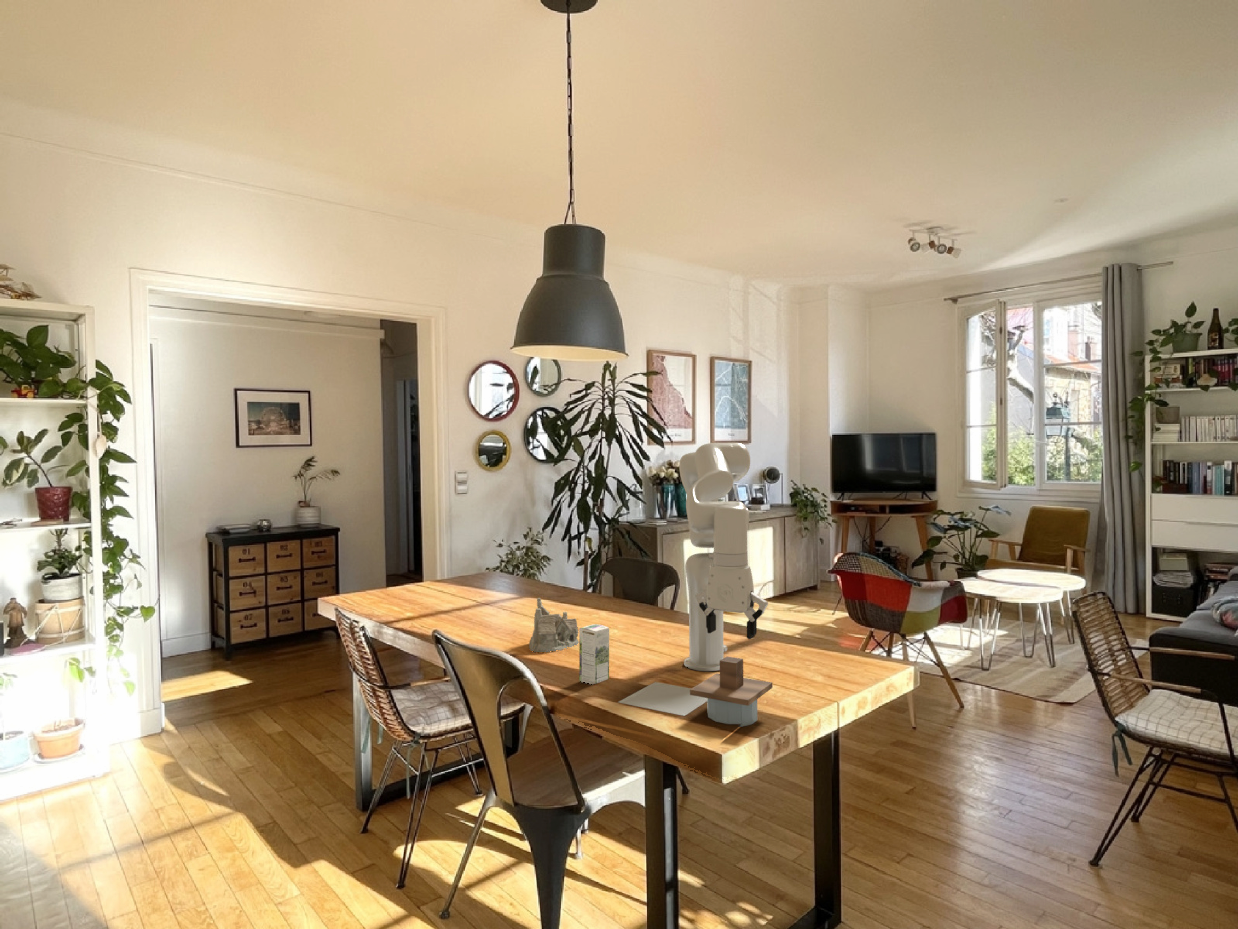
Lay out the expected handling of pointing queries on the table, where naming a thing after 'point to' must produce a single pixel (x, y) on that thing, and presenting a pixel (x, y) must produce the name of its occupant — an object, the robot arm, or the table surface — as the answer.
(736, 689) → the walnut lid
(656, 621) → the table surface
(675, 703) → the grey mat
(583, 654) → the syrup box
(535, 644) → the ceramic cottage
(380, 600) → the table surface
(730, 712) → the slate bowl
